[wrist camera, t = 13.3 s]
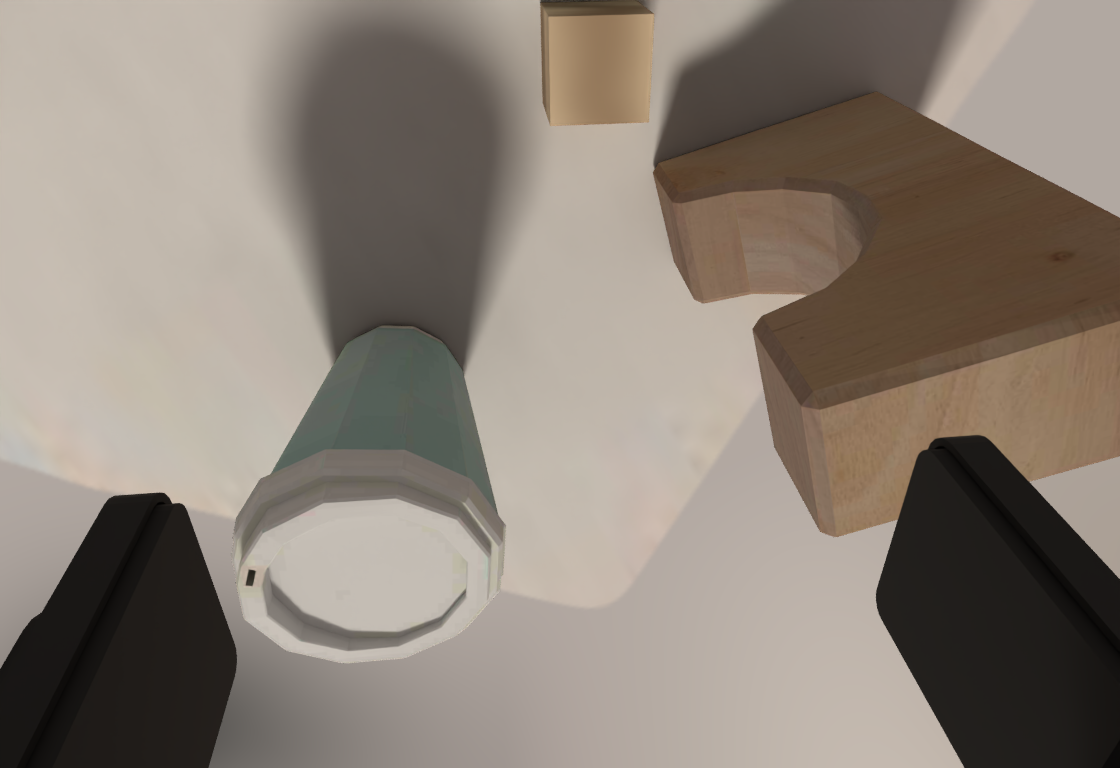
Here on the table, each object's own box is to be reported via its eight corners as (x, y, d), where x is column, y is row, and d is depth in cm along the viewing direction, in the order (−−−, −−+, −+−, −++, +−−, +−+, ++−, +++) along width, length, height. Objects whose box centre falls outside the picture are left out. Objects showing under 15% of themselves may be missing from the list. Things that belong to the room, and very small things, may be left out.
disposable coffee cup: (524, 319, 40) (550, 518, 28) (467, 476, 46) (467, 702, 33) (314, 263, 38) (238, 456, 25) (279, 437, 43) (201, 669, 30)
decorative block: (671, 265, 40) (822, 549, 23) (648, 158, 36) (803, 396, 20) (887, 201, 39) (1206, 445, 22) (883, 86, 36) (1249, 270, 19)
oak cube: (542, 102, 35) (550, 126, 31) (540, 2, 33) (548, 16, 29) (631, 98, 35) (648, 122, 32) (635, -1, 33) (654, 14, 29)
